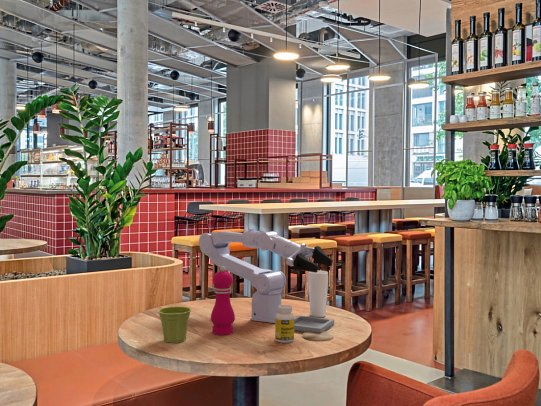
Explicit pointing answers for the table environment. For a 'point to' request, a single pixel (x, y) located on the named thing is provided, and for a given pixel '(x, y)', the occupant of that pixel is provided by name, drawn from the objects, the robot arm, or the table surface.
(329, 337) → the cork coaster
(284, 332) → the supplement bottle
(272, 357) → the table surface
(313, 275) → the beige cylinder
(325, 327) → the tray
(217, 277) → the pepper mill
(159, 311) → the plant pot
